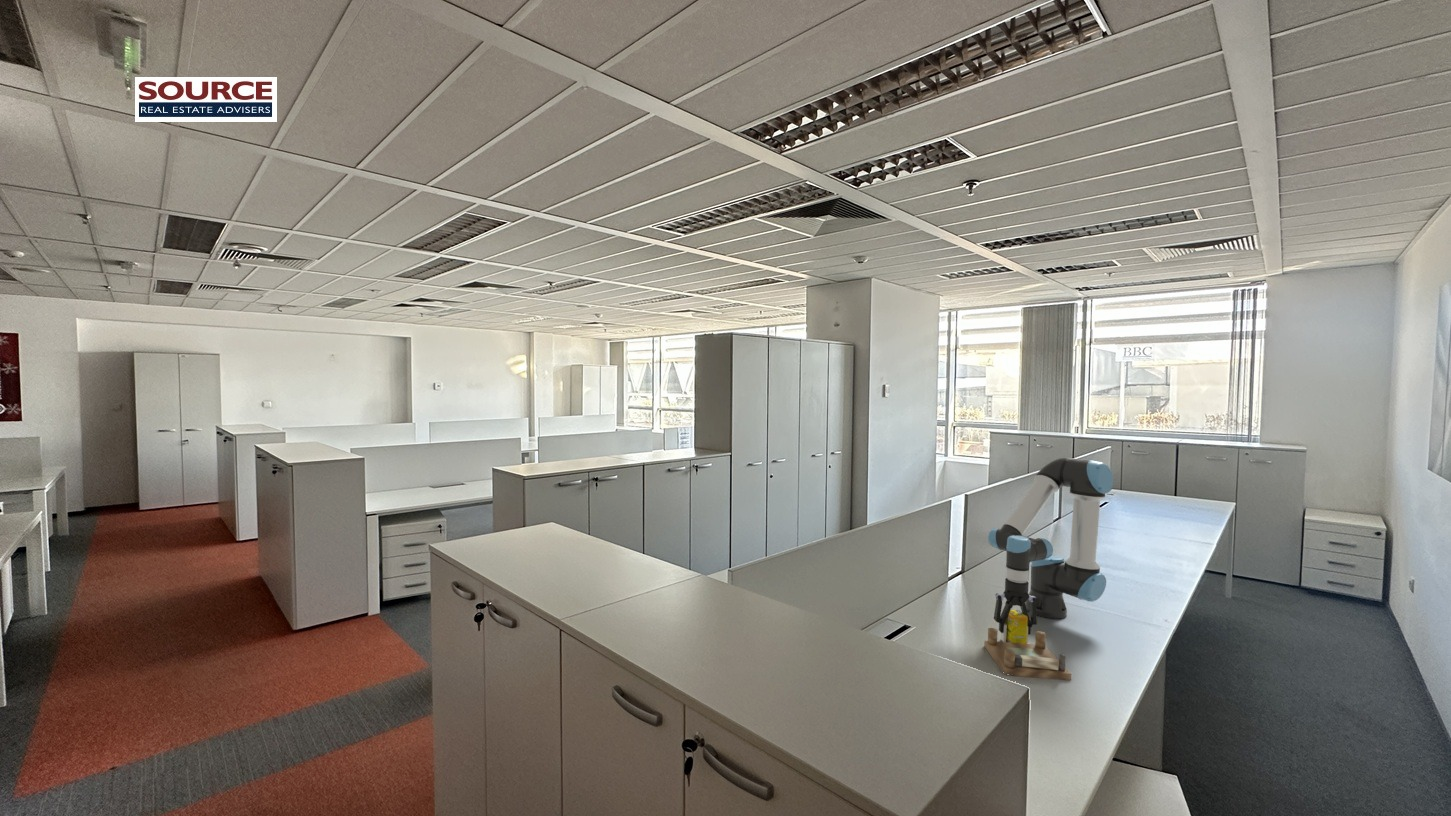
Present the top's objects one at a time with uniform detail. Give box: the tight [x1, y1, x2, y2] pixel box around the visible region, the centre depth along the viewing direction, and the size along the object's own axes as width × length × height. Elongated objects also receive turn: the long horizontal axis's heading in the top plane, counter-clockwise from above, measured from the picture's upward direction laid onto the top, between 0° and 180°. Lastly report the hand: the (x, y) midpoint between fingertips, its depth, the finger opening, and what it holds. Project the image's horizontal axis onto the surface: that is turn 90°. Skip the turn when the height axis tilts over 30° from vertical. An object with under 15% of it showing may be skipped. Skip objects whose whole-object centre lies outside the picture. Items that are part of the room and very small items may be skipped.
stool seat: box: [983, 627, 1072, 681], centre depth 190 cm, size 20×20×7 cm
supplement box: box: [1005, 609, 1028, 644], centre depth 205 cm, size 6×6×11 cm
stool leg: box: [1015, 654, 1059, 670], centre depth 183 cm, size 13×3×3 cm, turn 79°
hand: (1014, 641), depth 205 cm, fingers open, 7 cm apart
